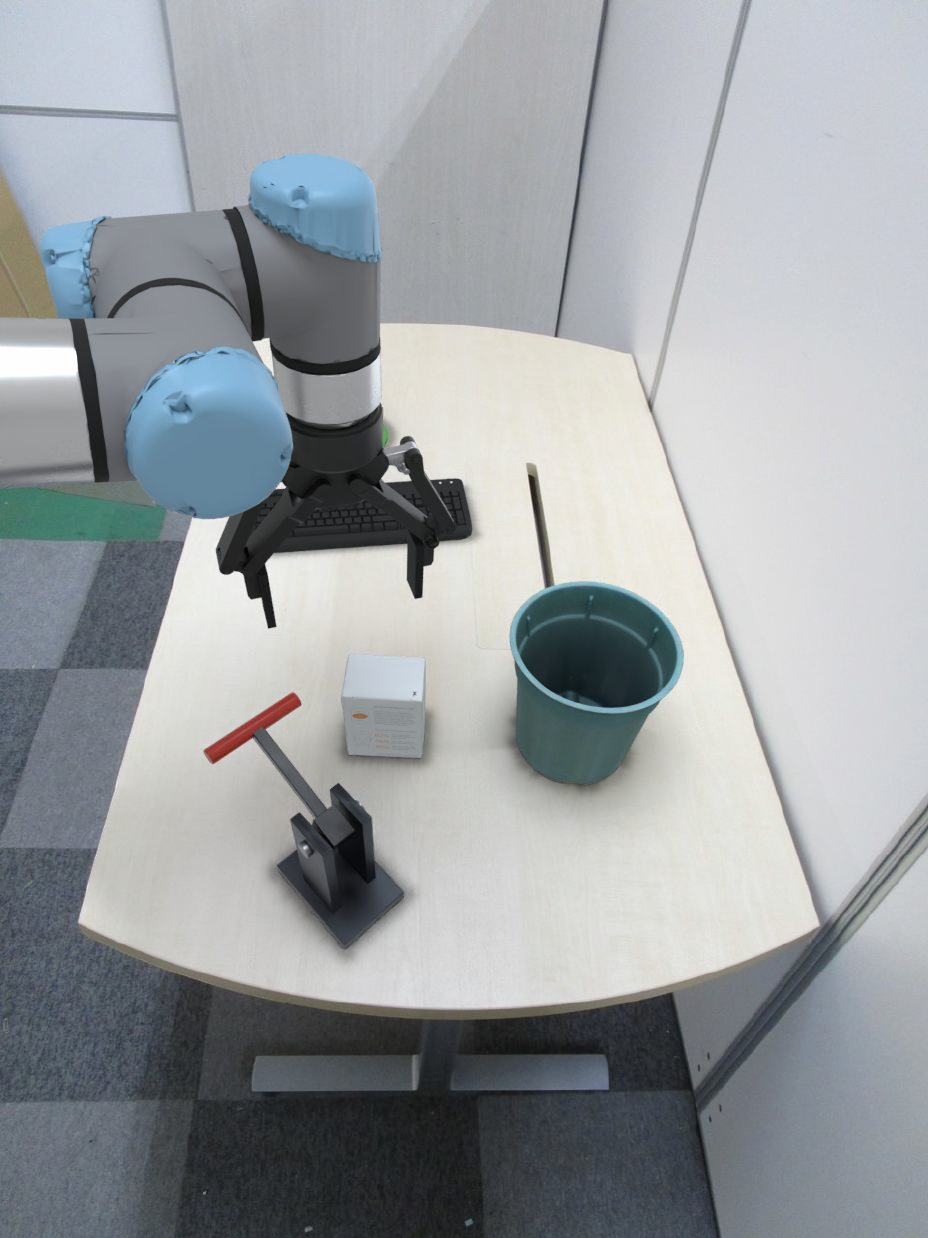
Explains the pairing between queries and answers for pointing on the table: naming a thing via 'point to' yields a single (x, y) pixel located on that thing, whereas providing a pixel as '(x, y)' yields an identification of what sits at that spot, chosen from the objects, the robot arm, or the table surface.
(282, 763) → the lever
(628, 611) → the flower pot
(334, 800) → the bracket
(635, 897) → the table surface
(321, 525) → the keyboard
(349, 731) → the small box
